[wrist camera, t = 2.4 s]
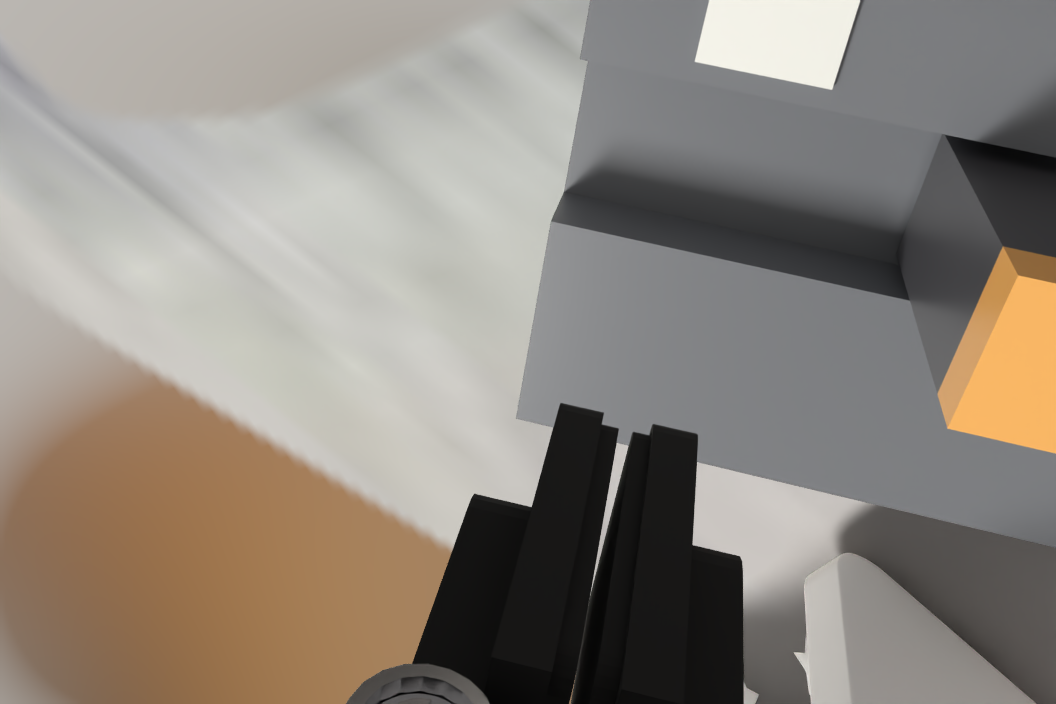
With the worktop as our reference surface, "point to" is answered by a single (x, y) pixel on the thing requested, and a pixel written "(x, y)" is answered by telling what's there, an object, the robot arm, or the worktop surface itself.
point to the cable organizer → (886, 645)
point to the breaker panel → (784, 239)
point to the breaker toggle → (987, 288)
